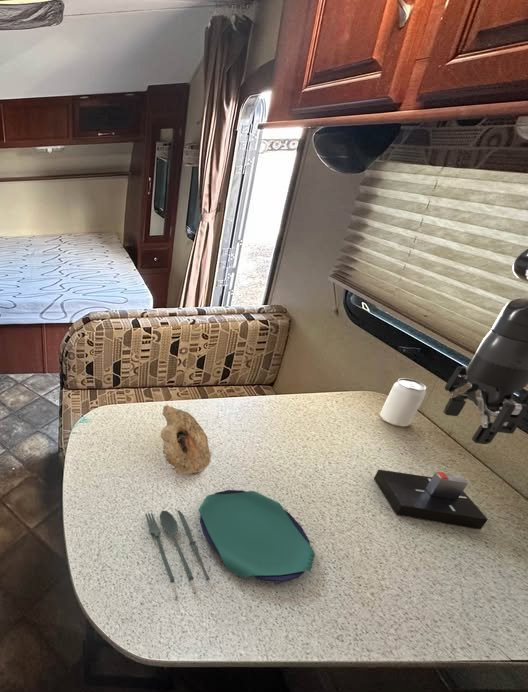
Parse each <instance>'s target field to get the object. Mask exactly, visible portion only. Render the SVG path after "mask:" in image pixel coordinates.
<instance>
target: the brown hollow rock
mask: <svg viewBox="0 0 528 692" xmlns="http://www.w3.org/2000/svg"><path fill="white" fill-rule="evenodd" d="M162 416H163V417H164V419H165V421H166V426H164V427H163V428H162V430H161V431H160V438H161V440H162V441H163V445H162V449H163V450H162V453H163V454H164V458H165V461H166V462H167V464H169V465H171V466H172V471H174V470H175V472H180V473H185V474H188V475H189V474H190V475H192V474H191V473H200V472H202V471H203V470H205V468H207V467H208V466H209V464H210V462H211V452H210V446H209V440H208V439H209V438H208V436H207V434H206V433H205V430H204V429H203V428H202V427H201V424H199V422H198V421H197V420H196V419H195V417H194V416H193V415H192V414H191V413H190V412H187V411H184V410H182V409H180V408H175V407H174V406H170V405H168V404H166V405H164V406H163V408H162Z"/></svg>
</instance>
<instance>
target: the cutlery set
mask: <svg viewBox="0 0 528 692" xmlns="http://www.w3.org/2000/svg"><path fill="white" fill-rule="evenodd" d="M176 511H177V514H178V516H179V519H180V521H181V523H182V525H183V528H184V530H185V533H186V535H187V537H188V539H189V546H191V548H192V552H193V553H194V554H195V556H196V557H197V561H198V562H199V565H200V566H201V569H202V571H203V574H204V576H205V581H210V580H211V577H210V576H209V575H208V572H207V570H206V568H205V566H204V562H203V560H202V558H201V556H200V553H199V547H198V546H197V545H196V544H197V542H196V541H194V538H193V534H192V531H191V529H190V526H189V523H188V522H187V520H186V517H185V515H184V513H183V512H182V511H180V510H179V509H178V510H176ZM197 511H198V512H199V523H200V526H201V530H202V533H203V536H204V538H205V539H206V541H207V543H208V544H209V545H210V547H211V548H212V550H213V551H214V552H215V553H216V554H217V555H218V556H219V557H220V558H221V561H222V562H223V565H224V567H225V568H226V569H227V570H228V571H230V572H231V573H232V574H235V575H236V576H238V577H240V578H247V577H248V578H249V577H253V578H255V579H258V580H262V581H264V582H265V581H266V582H278V583H284V582H288V581H292V580H295V579H298V578H300V577H301V576H302V575H303V574H304V573H305V572H311V570H312V566H313V564H314V560H315V556H316V554H315V550H314V548H312V545H311V542H310V539H309V537H308V536H307V533H306V532H305V530H304V529H303V527H302V525H301V524H300V523H299V522H298V521H297V520H296V519H295V517H293V515H292V514H291V513H290V512H289V511H287V510H286V509H285V508H284V507H283V506H282V504H281V503H280V502H278V501H276V500H274V499H272V498H270V497H269V496H266V495H264V494H261V493H259V492H257V491H255V490H248V491H246V490H240V489H238V490H237V489H226V490H221V491H218V492H215V493H213V494H208V495H206V497H205V498H204V500H203V502H202V503H201V505H200V506H199V507H198V510H197ZM145 518H146V522H147V526H148V529H149V533H150V535H151V536H152V537H153V538H154V540H155V541H156V543H157V546H158V550H159V553H160V556H161V558H162V562H163V564H164V568H165V570H166V573H167V576H168V578H169V581H170V583H175V578H174V574H173V572H172V569H171V566H170V563H169V561H168V559H167V556H166V553H165V550H164V547H163V544H162V541H161V529H160V527H159V525H158V523H157V521H156V519H155V517H154V514H153V512H151V513H150V512H148V513H147V512H146V513H145ZM159 520H160V525H161V526H162V528H163V531H165V532H166V533H167V534H169V535H170V536H171V538H172V539H173V541H174V544H175V547H176V549H177V552H178V554H179V557H180V559H181V560H180V561H181V562H182V565H183V568H184V571H185V573H186V577H187V579H188V581H194V576H193V573H192V571H191V569H190V566H189V564H188V562H187V560H186V557H185V555H184V552H183V551H182V549H181V546H180V544H179V542H178V540H177V538H176V535H177V534H178V531H179V530H178V529H179V527H178V523H177V521H176V520H177V519H175V517H174V515H173V514H171V513H170V512H169V511H167V510H161V512H160V514H159Z"/></svg>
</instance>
